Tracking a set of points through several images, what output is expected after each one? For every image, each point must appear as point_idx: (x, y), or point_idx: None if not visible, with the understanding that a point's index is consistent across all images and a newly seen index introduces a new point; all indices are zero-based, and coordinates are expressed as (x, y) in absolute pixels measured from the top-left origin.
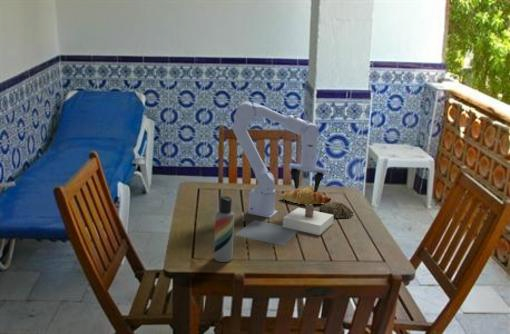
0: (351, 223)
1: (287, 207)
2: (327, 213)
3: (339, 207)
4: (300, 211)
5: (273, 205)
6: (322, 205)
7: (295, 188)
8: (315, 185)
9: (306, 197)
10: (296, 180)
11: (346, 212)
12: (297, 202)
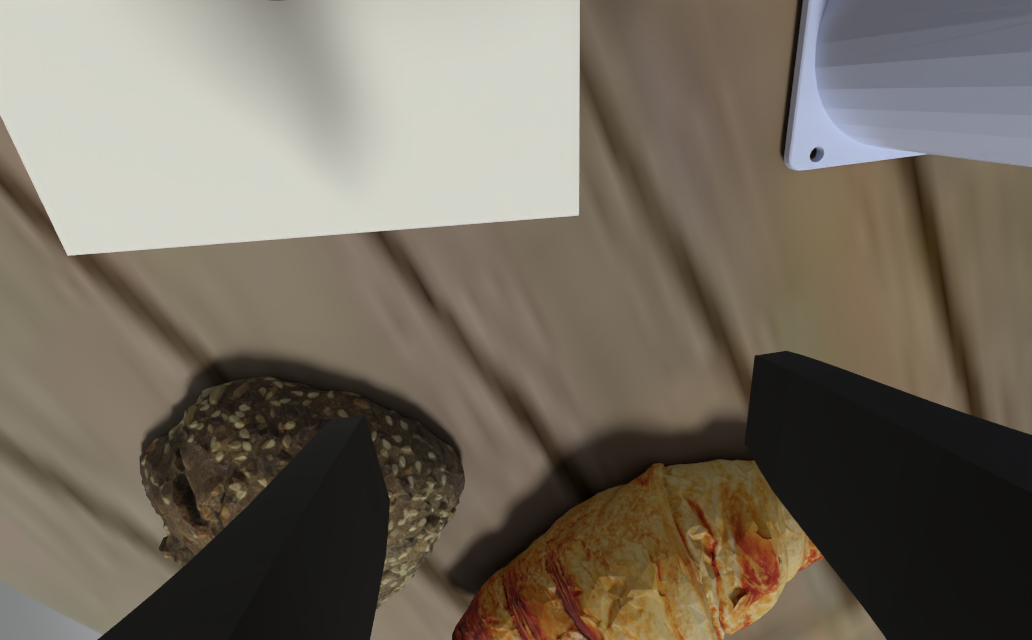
0: (32, 361)
1: (729, 351)
2: (326, 403)
3: (220, 513)
4: (481, 63)
5: (901, 24)
6: (427, 492)
7: (784, 351)
8: (272, 522)
9: (628, 539)
10: (940, 470)
11: (158, 495)
12: (683, 472)
